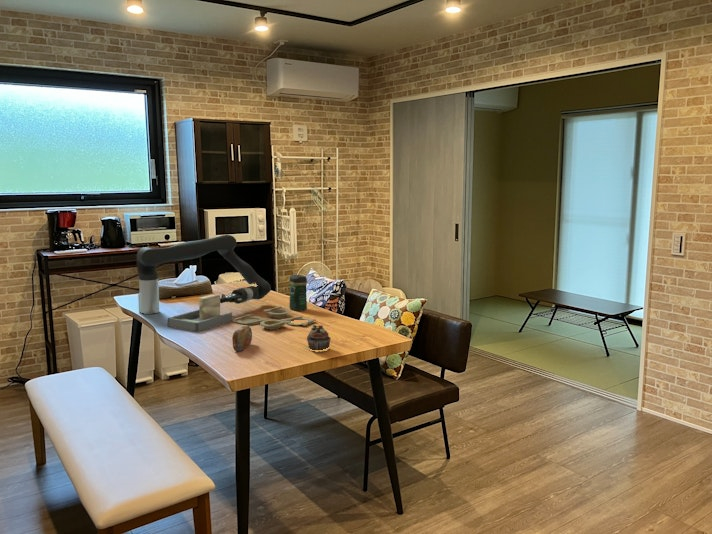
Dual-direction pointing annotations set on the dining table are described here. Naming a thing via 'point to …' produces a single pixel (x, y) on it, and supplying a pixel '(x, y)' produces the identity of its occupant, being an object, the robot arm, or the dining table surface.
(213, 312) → the birch block
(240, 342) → the brown flat stone
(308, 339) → the cupcake
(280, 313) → the tableware set
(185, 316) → the grey tray
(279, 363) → the dining table surface
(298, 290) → the coffee jar
